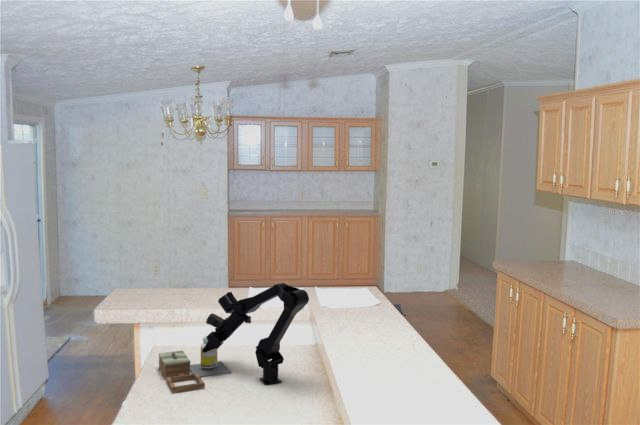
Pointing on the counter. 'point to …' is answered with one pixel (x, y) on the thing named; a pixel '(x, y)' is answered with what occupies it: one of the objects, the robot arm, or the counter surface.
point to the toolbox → (178, 372)
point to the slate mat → (209, 370)
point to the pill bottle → (208, 356)
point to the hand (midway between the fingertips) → (205, 349)
